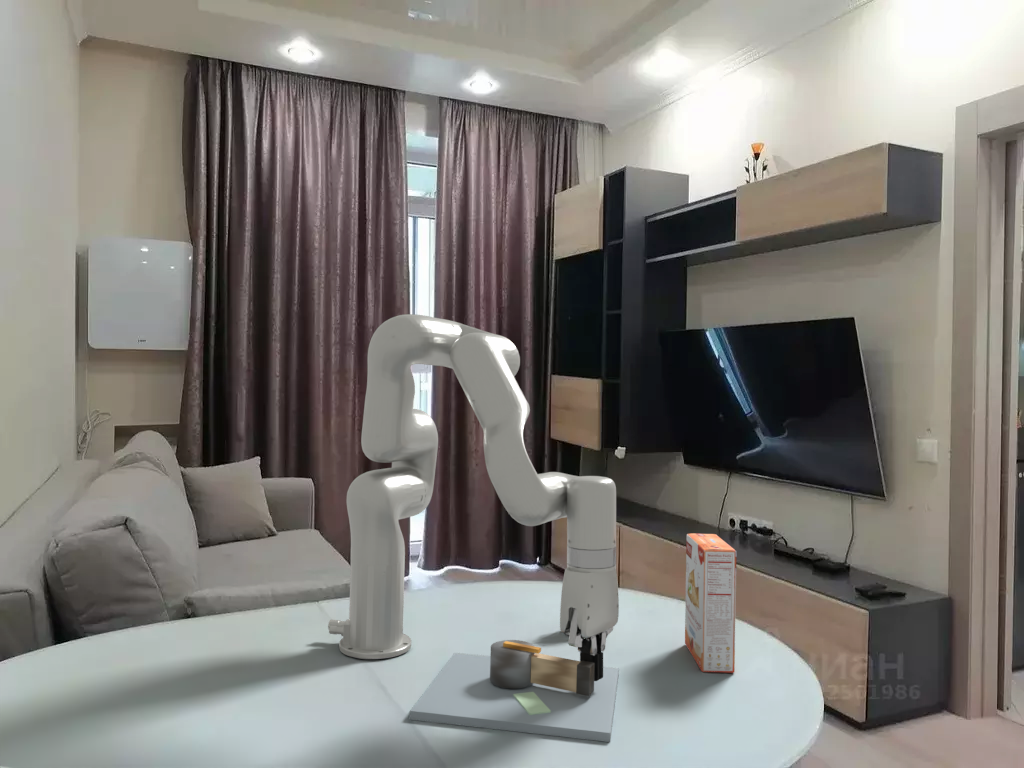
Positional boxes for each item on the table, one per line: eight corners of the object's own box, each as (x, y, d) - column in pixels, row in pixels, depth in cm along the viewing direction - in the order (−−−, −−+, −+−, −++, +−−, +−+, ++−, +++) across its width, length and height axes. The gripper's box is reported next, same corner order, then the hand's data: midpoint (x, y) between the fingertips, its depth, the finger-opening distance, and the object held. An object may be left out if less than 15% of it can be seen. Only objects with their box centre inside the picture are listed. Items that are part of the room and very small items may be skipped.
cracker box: (682, 644, 141) (685, 532, 141) (715, 645, 141) (717, 533, 141) (699, 673, 127) (702, 548, 127) (735, 674, 126) (738, 549, 127)
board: (409, 719, 106) (409, 709, 106) (454, 659, 130) (454, 651, 130) (610, 742, 101) (610, 731, 101) (618, 675, 125) (618, 666, 125)
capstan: (481, 683, 116) (482, 646, 116) (502, 668, 122) (502, 633, 122) (583, 705, 109) (584, 666, 109) (599, 688, 115) (600, 651, 115)
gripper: (597, 547, 124) (597, 659, 124) (542, 562, 113) (542, 686, 112) (637, 553, 119) (637, 669, 119) (584, 569, 108) (584, 699, 108)
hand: (591, 677), depth 116 cm, fingers closed
